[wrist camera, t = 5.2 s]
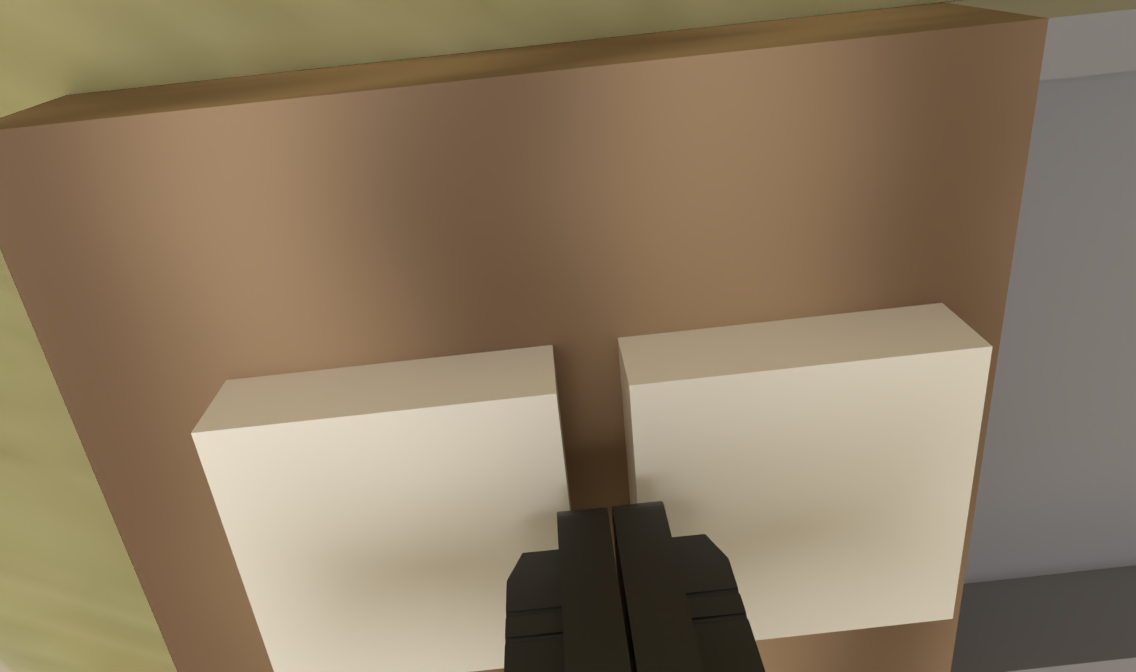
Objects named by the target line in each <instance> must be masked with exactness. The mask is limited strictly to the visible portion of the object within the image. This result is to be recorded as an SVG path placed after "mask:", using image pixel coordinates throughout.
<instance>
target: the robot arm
mask: <svg viewBox="0 0 1136 672" xmlns="http://www.w3.org/2000/svg"><path fill="white" fill-rule="evenodd" d="M612 522H613V534H614V545H615V556H614V549H613V542H612V535H611V528H610V521H609V514H608V508H607V507H599V508H590V509H580V510H570V511H560V512H557V530H558V548H559V549H556V550H546V551H536V552H527V553H522V555H521V556H520V558H519V560H518V562H517V564H516V565H515V567H514V569H513V571H512V572H511V574H510V576H509V578H508V580H507V586H506V620H505V654H504V672H765V669H764V666H763V663H762V659H761V656H760V653H759V650H758V647H757V644H756V641H755V638H754V635H753V632H752V629H751V626H750V623H749V620H748V619H747V616H746V610H745V607H744V604H743V601H742V598H741V595H740V594H739V591H738V586H737V583H736V580H735V577H734V574H733V571H732V567H731V564H730V561H729V558H728V557H727V556H726V555H725V554H724V553H723V552H722V551H721V550H720V549H719V548H718V547H717V546H716V545H715V544H714V543H713V542H712V541H711V540H710V539H709V537H708V536H707V535H706V534H699V535H689V536H680V537H672V535H671V531H670V527H669V523H668V519H667V515H666V511H665V507H664V504H663V501H655V502H646V503H636V504H626V505H617V506H612ZM615 557H616V563H615ZM616 569H617V570H616Z"/></svg>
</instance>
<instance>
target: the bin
mask: <svg viewBox="0 0 1136 672" xmlns="http://www.w3.org/2000/svg"><path fill="white" fill-rule="evenodd" d="M946 3H952V4H959V5H965V6H972V7H978V8H985V9H992V10H998V11H1005V12H1011V13H1018V14H1024V15H1031V16H1038V17H1044V18H1049V20H1048V27H1047V33H1046V40H1045V47H1044V53H1043V60H1042V67H1041V73H1040V80H1039V87H1038V93H1037V100H1036V106H1035V113H1034V120H1033V126H1032V133H1031V140H1030V146H1029V153H1028V160H1027V166H1026V173H1025V180H1024V186H1023V193H1022V200H1021V206H1020V213H1019V219H1018V226H1017V233H1016V239H1015V246H1014V253H1013V259H1012V266H1011V273H1010V279H1009V286H1008V293H1007V299H1006V306H1005V313H1004V319H1003V326H1002V332H1001V339H1000V346H999V352H998V359H997V366H996V372H995V379H994V386H993V392H992V399H991V406H990V412H989V419H988V426H987V432H986V439H985V445H984V452H983V459H982V465H981V472H980V479H979V485H978V492H977V499H976V505H975V512H974V519H973V525H972V532H971V539H970V545H969V552H968V558H967V565H966V572H965V578H964V585H963V592H962V598H961V605H960V612H959V618H958V625H957V632H956V638H955V645H954V652H953V658H952V665H951V671H950V672H1136V0H961V1H951V2H946Z"/></svg>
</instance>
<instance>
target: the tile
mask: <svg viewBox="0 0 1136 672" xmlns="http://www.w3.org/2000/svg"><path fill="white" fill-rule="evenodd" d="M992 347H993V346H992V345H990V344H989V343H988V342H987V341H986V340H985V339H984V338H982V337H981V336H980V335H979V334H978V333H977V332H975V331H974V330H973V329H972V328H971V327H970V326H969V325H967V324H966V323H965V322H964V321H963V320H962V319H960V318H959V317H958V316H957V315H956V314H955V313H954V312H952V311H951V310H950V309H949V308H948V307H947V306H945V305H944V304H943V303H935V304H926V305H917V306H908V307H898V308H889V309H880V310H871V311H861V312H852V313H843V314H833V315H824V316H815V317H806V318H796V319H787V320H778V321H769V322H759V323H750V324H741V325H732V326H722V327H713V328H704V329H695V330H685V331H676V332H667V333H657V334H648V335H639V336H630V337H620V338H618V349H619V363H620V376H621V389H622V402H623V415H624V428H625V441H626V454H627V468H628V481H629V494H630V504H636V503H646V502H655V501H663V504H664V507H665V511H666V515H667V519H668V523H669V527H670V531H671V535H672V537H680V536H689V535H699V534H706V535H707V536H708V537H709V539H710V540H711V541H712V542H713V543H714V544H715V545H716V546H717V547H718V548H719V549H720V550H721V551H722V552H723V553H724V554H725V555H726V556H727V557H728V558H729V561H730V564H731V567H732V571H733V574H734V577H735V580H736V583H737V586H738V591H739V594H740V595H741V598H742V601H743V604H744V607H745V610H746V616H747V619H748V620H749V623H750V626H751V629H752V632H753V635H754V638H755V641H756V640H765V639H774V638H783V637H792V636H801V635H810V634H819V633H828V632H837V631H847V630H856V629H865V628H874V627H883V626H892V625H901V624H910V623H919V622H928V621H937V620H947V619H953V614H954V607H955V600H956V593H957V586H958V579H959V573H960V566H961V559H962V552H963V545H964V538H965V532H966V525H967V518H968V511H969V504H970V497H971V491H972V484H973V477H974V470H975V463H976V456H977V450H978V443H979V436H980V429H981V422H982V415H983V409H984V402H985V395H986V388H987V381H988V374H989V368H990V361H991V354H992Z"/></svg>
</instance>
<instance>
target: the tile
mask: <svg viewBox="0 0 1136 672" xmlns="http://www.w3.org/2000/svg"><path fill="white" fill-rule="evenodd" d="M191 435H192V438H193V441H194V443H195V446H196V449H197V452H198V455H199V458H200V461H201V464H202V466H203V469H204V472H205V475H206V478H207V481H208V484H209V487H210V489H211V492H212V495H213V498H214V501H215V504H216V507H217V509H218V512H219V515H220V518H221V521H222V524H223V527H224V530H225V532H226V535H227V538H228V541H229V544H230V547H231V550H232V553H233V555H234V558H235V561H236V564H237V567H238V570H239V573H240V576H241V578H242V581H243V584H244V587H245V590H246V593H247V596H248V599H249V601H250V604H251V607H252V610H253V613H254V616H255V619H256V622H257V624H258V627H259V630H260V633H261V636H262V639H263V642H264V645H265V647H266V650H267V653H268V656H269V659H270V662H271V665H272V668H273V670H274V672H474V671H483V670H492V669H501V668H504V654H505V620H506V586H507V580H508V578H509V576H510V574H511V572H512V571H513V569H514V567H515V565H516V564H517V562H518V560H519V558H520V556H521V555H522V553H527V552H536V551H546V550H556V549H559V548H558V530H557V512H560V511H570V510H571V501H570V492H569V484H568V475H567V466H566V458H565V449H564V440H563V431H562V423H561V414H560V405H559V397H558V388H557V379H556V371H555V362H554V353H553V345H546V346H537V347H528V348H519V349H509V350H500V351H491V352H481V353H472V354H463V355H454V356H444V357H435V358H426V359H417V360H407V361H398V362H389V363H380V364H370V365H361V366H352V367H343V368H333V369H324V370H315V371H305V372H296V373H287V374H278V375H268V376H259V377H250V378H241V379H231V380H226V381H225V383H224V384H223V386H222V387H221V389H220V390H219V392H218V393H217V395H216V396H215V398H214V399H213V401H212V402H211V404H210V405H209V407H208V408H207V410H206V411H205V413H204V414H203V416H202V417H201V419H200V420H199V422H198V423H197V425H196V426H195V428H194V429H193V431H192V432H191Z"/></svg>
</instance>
